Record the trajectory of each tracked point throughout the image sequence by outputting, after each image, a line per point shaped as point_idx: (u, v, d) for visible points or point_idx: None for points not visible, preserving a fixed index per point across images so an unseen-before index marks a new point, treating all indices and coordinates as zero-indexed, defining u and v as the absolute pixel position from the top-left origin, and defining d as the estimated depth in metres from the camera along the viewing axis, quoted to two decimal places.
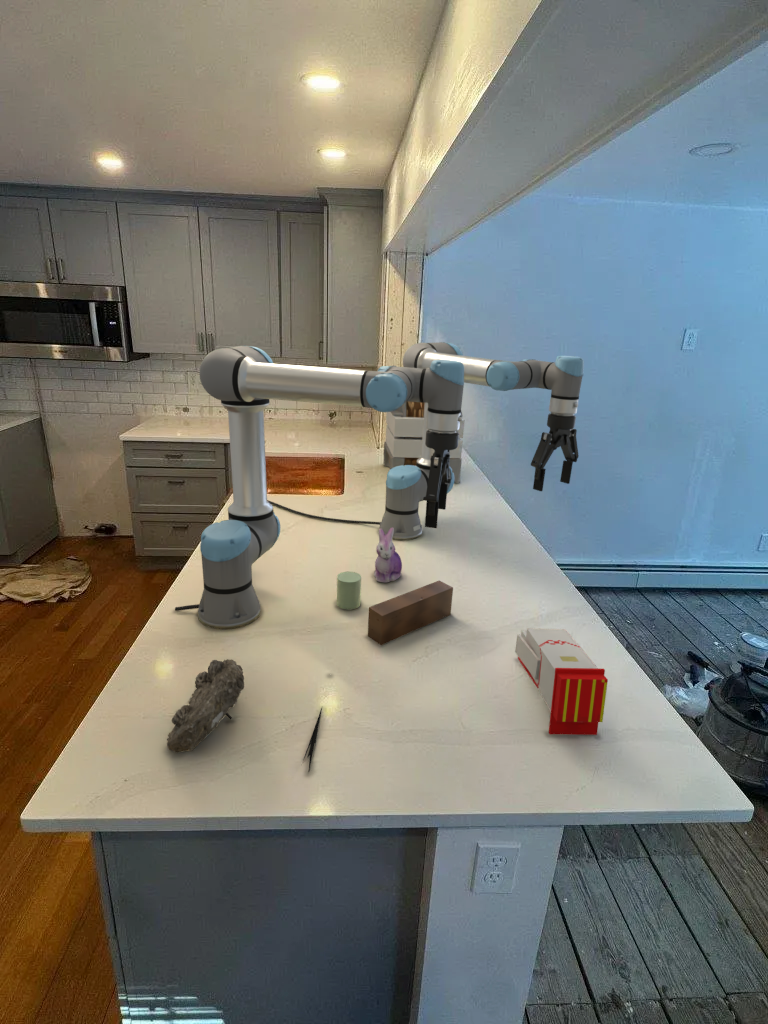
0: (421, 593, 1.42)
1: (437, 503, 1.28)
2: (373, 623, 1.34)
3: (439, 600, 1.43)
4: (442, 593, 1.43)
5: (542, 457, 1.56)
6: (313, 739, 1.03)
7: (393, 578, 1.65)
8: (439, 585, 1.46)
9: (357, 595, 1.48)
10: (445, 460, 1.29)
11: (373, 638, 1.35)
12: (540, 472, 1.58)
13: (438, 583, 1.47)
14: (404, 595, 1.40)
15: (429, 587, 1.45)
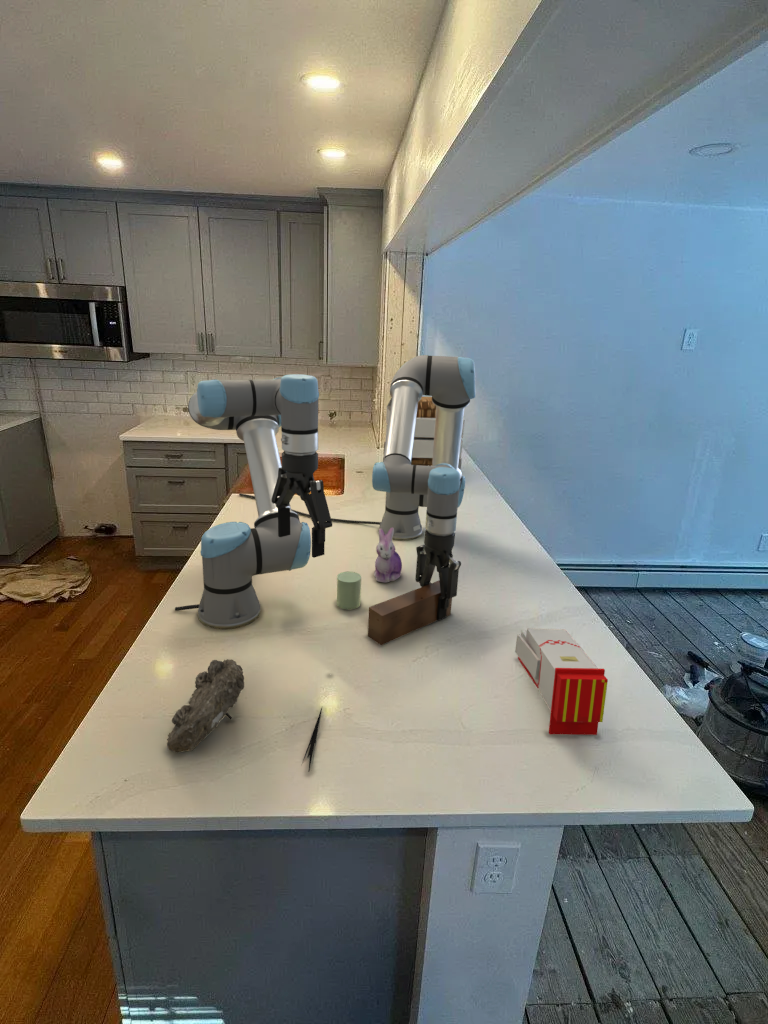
0: (421, 593, 1.42)
1: None
2: (373, 623, 1.34)
3: None
4: None
5: (417, 571, 1.47)
6: (313, 739, 1.03)
7: (393, 578, 1.65)
8: (439, 585, 1.46)
9: (357, 595, 1.48)
10: None
11: (373, 638, 1.35)
12: None
13: (438, 583, 1.47)
14: (404, 595, 1.40)
15: (429, 587, 1.45)
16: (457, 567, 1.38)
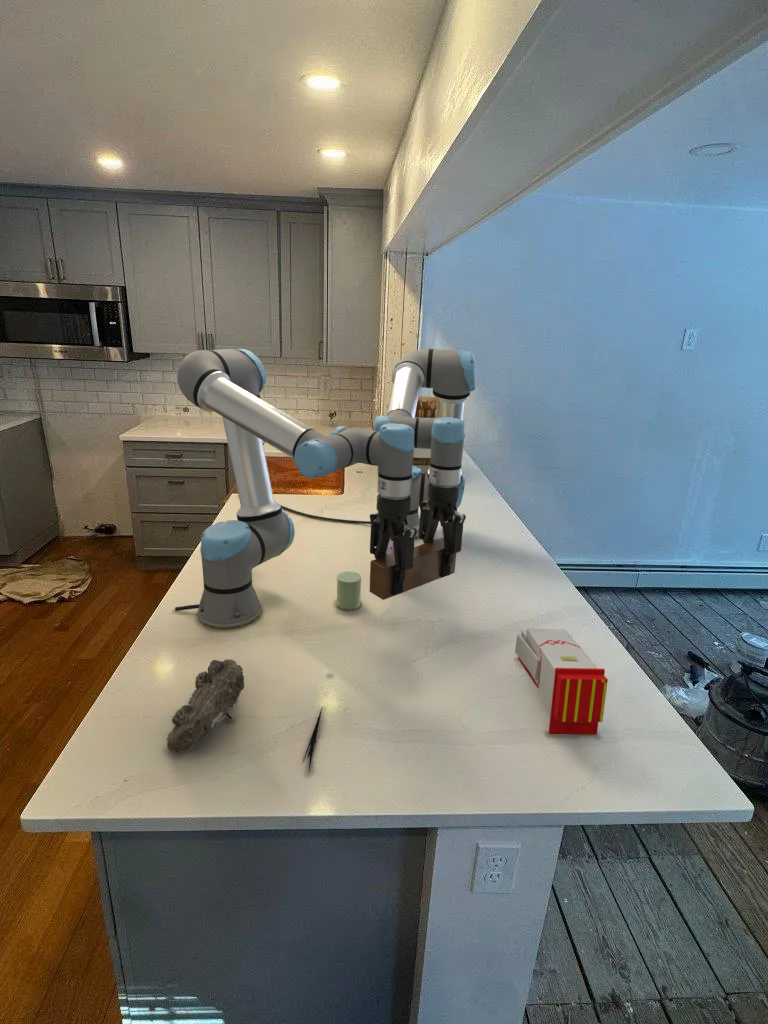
0: (425, 549, 1.38)
1: None
2: (375, 577, 1.30)
3: None
4: None
5: (420, 528, 1.43)
6: (313, 739, 1.03)
7: None
8: (443, 542, 1.42)
9: (357, 595, 1.48)
10: None
11: (375, 593, 1.31)
12: None
13: (442, 540, 1.43)
14: None
15: (432, 544, 1.41)
16: (462, 520, 1.34)
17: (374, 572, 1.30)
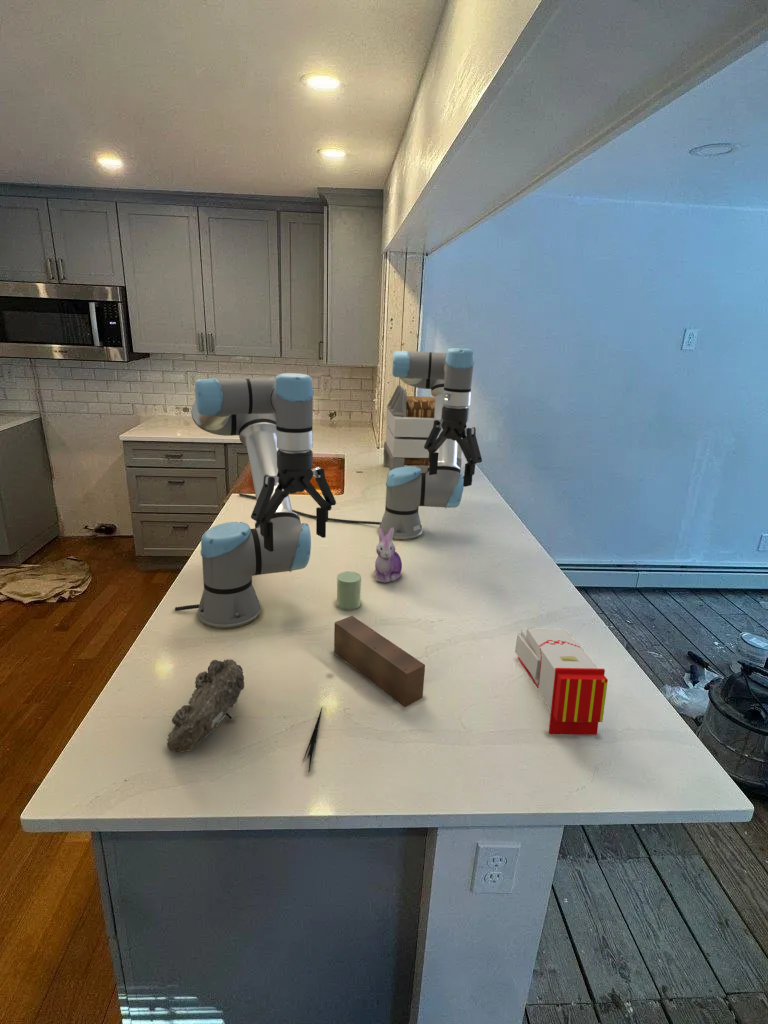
0: (386, 649, 1.18)
1: None
2: None
3: (390, 672, 1.14)
4: (393, 666, 1.13)
5: (428, 440, 1.66)
6: (313, 739, 1.03)
7: (393, 578, 1.65)
8: (409, 663, 1.13)
9: (357, 595, 1.48)
10: None
11: None
12: None
13: (415, 663, 1.14)
14: (379, 637, 1.22)
15: (402, 655, 1.16)
16: (473, 431, 1.54)
17: None
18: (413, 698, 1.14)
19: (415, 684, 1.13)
